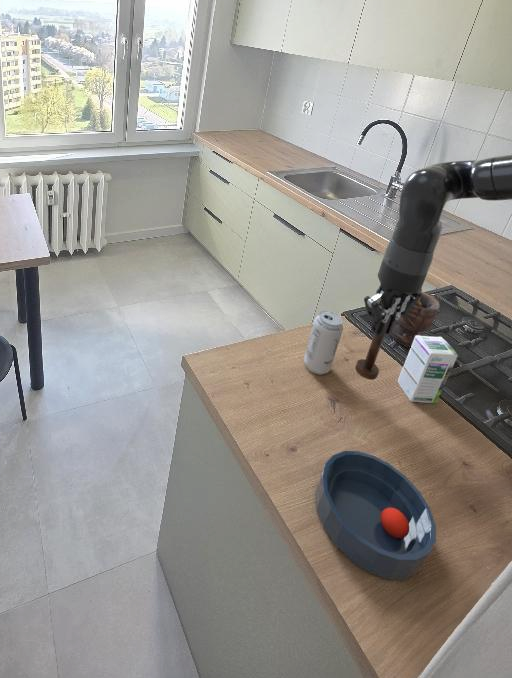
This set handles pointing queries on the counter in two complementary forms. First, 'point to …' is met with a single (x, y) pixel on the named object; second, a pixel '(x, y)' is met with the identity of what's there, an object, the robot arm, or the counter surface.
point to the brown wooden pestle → (371, 357)
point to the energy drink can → (323, 342)
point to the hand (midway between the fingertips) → (380, 331)
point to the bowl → (373, 514)
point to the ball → (394, 523)
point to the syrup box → (427, 368)
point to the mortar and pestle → (415, 320)
